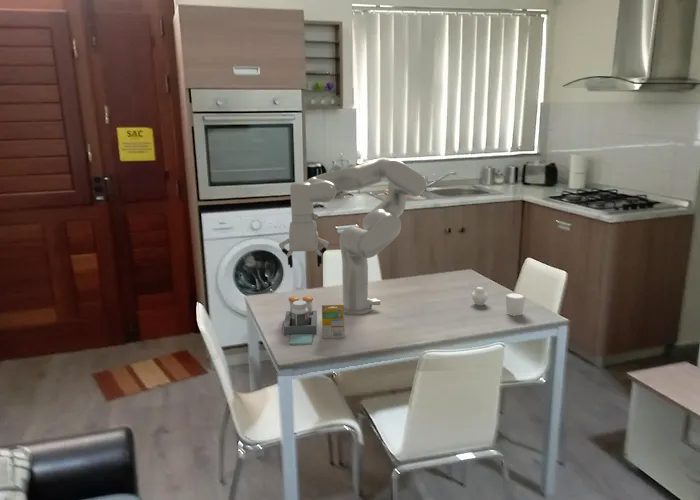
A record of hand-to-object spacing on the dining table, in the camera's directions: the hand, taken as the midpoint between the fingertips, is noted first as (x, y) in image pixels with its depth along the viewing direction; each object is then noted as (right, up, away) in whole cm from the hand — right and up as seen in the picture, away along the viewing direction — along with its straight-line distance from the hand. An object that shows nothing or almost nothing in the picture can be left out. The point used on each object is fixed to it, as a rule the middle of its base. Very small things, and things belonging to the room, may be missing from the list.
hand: (305, 266), depth 196 cm
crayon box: (+10, -23, -9) cm, 27 cm away
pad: (0, -24, -12) cm, 27 cm away
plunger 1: (-4, -18, +4) cm, 19 cm away
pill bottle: (-1, -22, -3) cm, 22 cm away
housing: (-1, -21, 0) cm, 21 cm away
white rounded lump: (+66, -15, +20) cm, 70 cm away
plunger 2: (+1, -18, +4) cm, 18 cm away
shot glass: (+76, -18, +10) cm, 79 cm away
